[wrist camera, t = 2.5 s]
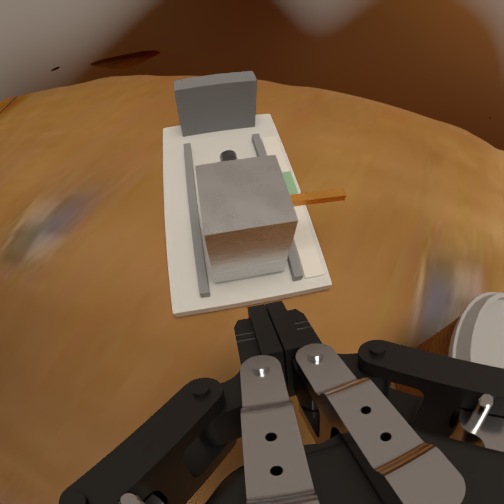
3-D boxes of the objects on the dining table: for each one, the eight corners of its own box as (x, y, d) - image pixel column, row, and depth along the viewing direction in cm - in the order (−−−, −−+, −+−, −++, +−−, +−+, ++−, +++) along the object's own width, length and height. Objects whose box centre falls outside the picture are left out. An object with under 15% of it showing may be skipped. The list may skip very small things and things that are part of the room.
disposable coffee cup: (394, 318, 26) (471, 265, 15) (465, 344, 24) (547, 307, 13) (366, 415, 22) (448, 420, 11) (444, 432, 20) (534, 431, 9)
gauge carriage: (215, 283, 25) (203, 235, 18) (200, 184, 30) (190, 124, 23) (336, 261, 27) (366, 210, 20) (302, 170, 31) (315, 112, 24)
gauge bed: (175, 317, 25) (148, 283, 18) (164, 135, 36) (152, 84, 29) (328, 289, 27) (358, 247, 20) (269, 120, 38) (273, 69, 30)
